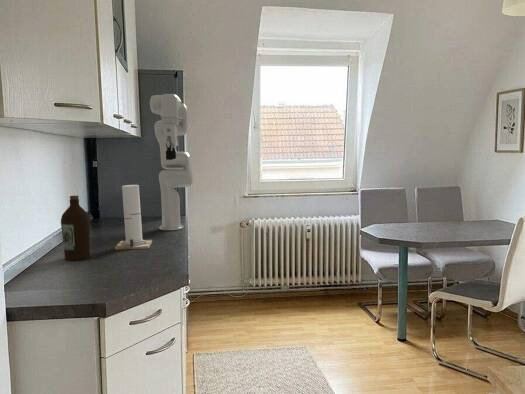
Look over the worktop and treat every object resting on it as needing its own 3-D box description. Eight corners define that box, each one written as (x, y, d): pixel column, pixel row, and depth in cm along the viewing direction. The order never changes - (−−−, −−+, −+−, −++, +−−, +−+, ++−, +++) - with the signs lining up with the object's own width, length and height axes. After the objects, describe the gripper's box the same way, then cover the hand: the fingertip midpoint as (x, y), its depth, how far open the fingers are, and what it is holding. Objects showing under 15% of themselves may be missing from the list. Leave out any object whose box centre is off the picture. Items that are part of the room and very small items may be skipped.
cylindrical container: (143, 242, 204) (139, 185, 201) (126, 243, 201) (122, 186, 199) (142, 239, 210) (138, 184, 208) (125, 240, 208) (121, 185, 205)
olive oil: (79, 253, 191) (76, 194, 189) (97, 256, 186) (94, 195, 183) (57, 259, 182) (53, 196, 179) (75, 262, 177) (71, 198, 174)
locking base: (121, 242, 212) (120, 234, 212) (152, 241, 214) (151, 233, 213) (114, 249, 198) (114, 240, 198) (148, 248, 200) (147, 239, 199)
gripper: (175, 121, 203) (177, 160, 205) (180, 122, 220) (181, 158, 222) (158, 121, 202) (160, 160, 205) (164, 122, 220) (165, 158, 222)
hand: (171, 159), depth 213 cm, fingers open, 9 cm apart
